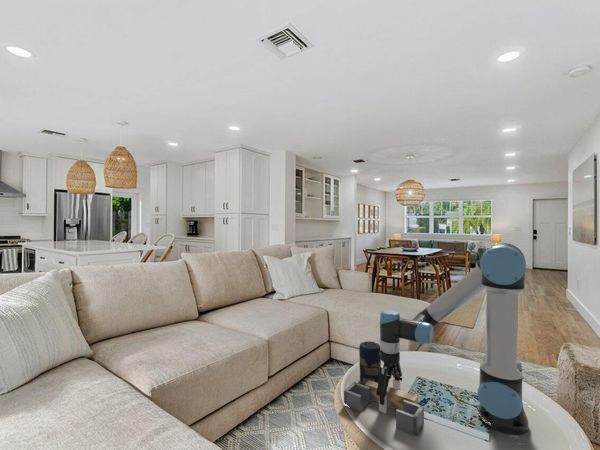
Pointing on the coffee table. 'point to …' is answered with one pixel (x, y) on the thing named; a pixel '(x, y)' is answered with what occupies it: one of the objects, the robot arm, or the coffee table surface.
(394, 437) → the coffee table surface
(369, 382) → the slat
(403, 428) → the endcap
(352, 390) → the endcap
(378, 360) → the canister
